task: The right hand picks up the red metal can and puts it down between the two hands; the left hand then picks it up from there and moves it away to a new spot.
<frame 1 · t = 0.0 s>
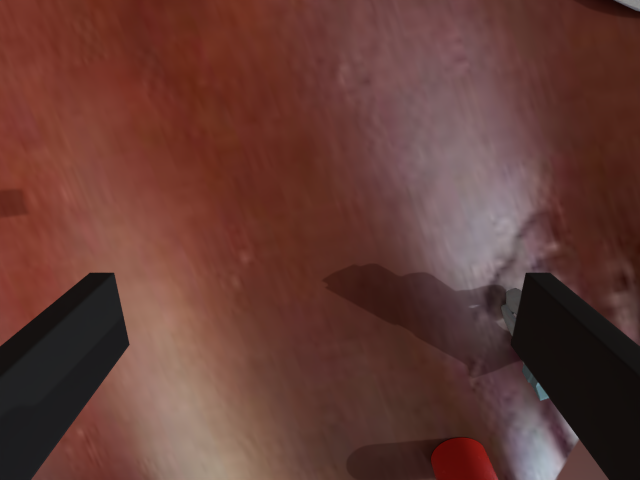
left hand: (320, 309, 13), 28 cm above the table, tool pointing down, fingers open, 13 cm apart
can: (458, 457, 54), on the table
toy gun: (516, 313, 45), on the table
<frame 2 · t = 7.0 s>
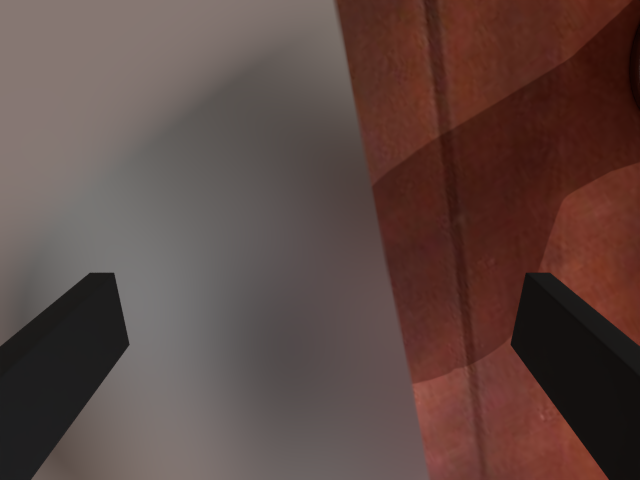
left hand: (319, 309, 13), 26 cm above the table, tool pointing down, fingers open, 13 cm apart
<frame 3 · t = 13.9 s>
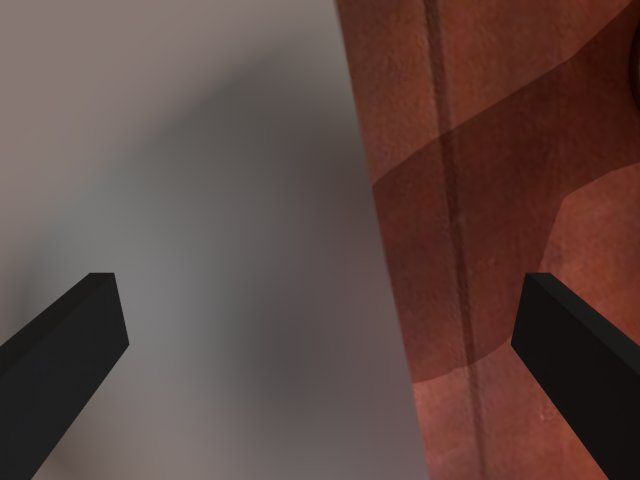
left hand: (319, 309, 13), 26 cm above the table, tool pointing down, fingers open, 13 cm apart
when the right hand's fingers open (3 cm above the table, at t = 21.2 s): can drops 2 cm, on the table.
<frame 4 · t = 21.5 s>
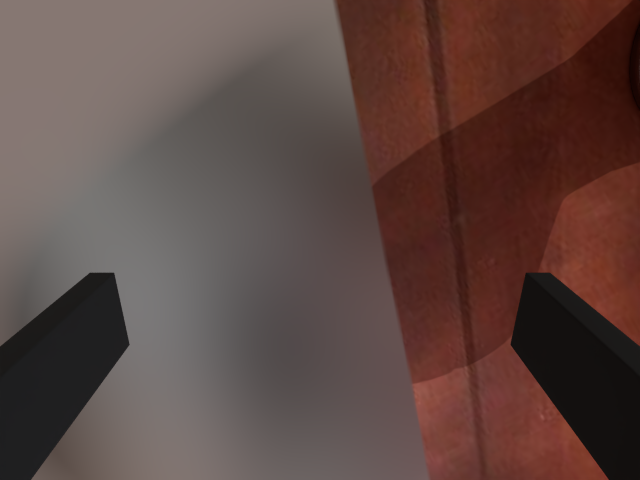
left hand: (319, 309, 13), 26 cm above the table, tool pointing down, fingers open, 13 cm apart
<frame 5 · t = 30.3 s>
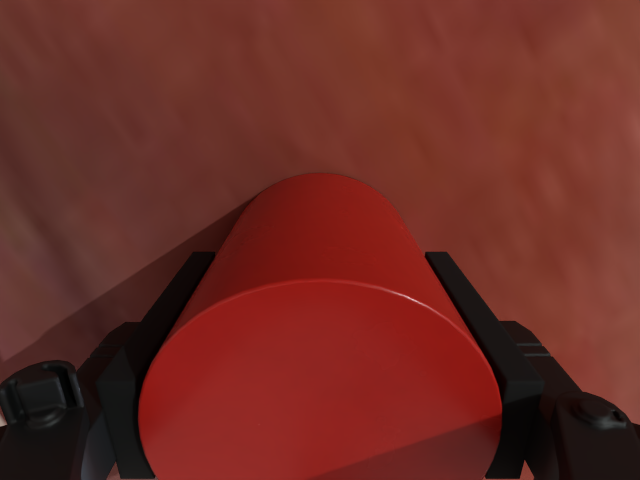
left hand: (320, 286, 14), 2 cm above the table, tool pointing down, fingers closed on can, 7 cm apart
can: (320, 262, 16), on the table, touching left hand
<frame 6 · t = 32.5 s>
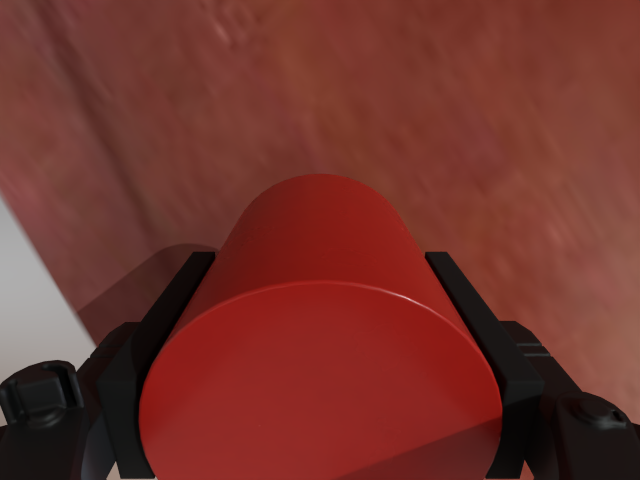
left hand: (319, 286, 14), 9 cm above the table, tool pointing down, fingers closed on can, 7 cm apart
can: (320, 263, 16), point 7 cm above the table, touching left hand
when the left hand's fingers open (4 cm above the table, at t = 35.2 s): can drops 2 cm, on the table.
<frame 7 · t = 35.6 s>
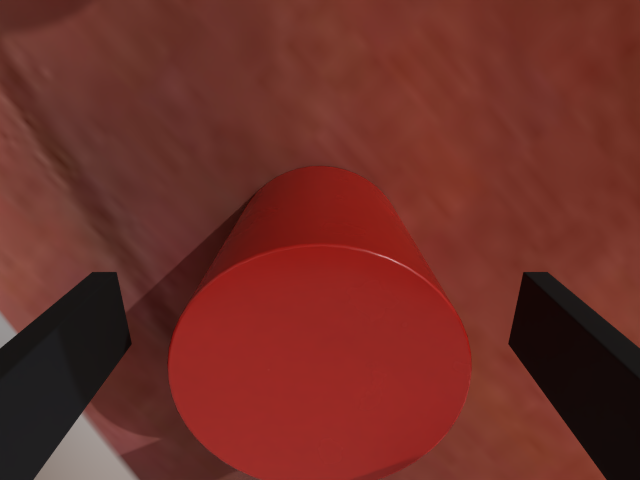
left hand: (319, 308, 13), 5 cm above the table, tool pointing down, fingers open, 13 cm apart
can: (319, 248, 18), on the table
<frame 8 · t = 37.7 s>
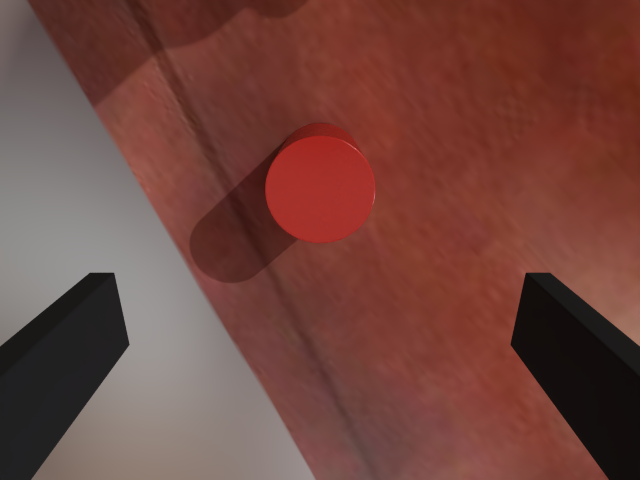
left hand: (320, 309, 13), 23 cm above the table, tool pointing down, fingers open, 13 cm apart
can: (320, 167, 34), on the table
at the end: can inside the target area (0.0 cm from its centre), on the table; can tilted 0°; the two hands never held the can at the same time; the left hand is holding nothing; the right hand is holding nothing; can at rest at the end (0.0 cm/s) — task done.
